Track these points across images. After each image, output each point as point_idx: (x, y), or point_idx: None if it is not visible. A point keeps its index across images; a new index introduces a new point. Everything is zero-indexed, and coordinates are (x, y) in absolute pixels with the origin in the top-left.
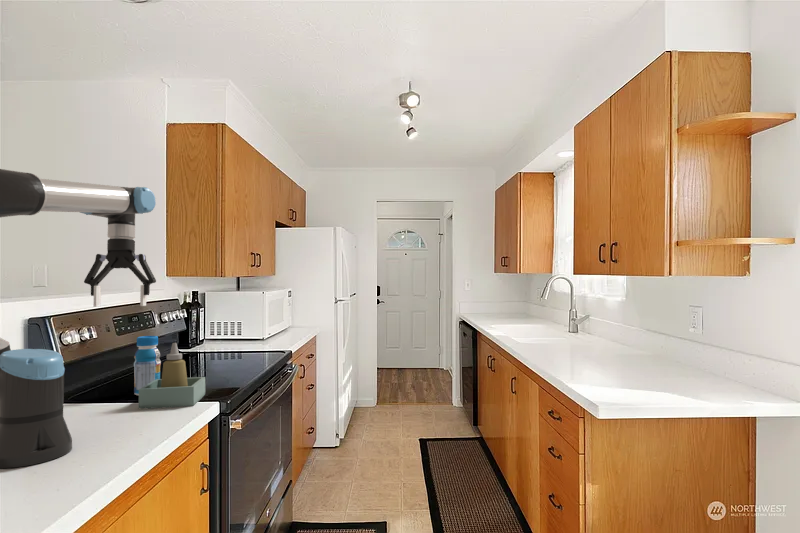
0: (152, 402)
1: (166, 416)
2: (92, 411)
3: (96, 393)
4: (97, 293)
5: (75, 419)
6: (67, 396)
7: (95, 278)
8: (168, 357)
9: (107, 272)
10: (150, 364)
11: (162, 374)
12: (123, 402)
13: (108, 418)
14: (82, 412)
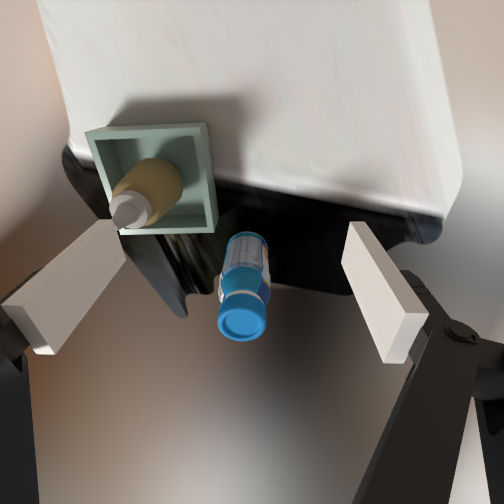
0: (178, 124)
1: (112, 34)
2: (293, 121)
3: (338, 265)
4: (374, 282)
5: (302, 50)
6: None
7: (459, 382)
8: (136, 194)
9: (359, 494)
10: (230, 264)
11: (167, 184)
12: (262, 187)
13: (234, 43)
14: (310, 116)
